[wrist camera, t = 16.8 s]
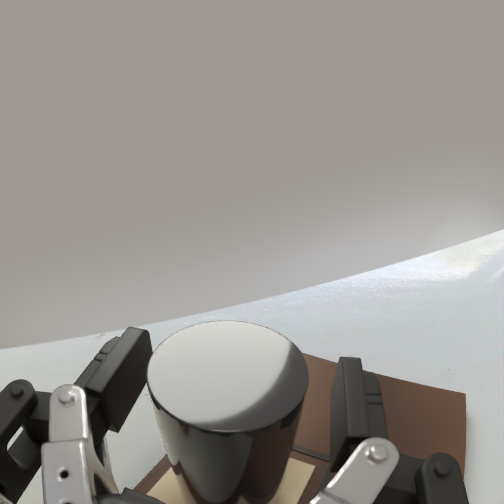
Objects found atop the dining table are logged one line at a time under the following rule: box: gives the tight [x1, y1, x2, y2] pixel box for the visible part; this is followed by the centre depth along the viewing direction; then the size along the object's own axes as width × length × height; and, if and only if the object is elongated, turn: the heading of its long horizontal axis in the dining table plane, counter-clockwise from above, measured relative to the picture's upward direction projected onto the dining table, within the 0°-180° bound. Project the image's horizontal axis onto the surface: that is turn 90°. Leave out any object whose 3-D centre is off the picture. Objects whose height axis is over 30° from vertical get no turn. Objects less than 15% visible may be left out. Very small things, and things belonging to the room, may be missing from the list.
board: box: [133, 353, 466, 504], centre depth 14 cm, size 16×16×1 cm
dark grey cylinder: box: [146, 321, 309, 504], centre depth 11 cm, size 5×5×9 cm
